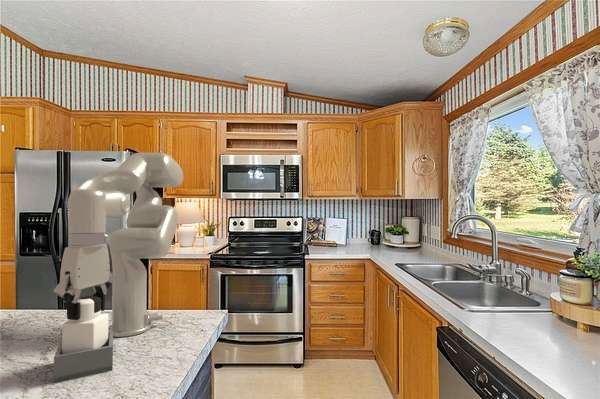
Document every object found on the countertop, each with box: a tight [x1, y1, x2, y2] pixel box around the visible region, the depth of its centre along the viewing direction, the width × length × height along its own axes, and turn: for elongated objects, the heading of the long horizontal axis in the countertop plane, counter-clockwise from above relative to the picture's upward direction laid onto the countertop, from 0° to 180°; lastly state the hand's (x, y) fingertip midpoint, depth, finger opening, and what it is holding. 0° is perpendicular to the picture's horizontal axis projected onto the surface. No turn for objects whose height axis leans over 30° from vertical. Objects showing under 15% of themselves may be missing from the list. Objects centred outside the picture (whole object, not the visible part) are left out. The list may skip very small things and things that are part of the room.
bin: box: [53, 331, 114, 383], centre depth 80 cm, size 11×11×6 cm
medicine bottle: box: [61, 295, 109, 354], centre depth 80 cm, size 7×7×12 cm
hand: (86, 314), depth 80 cm, fingers closed on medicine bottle, 6 cm apart
